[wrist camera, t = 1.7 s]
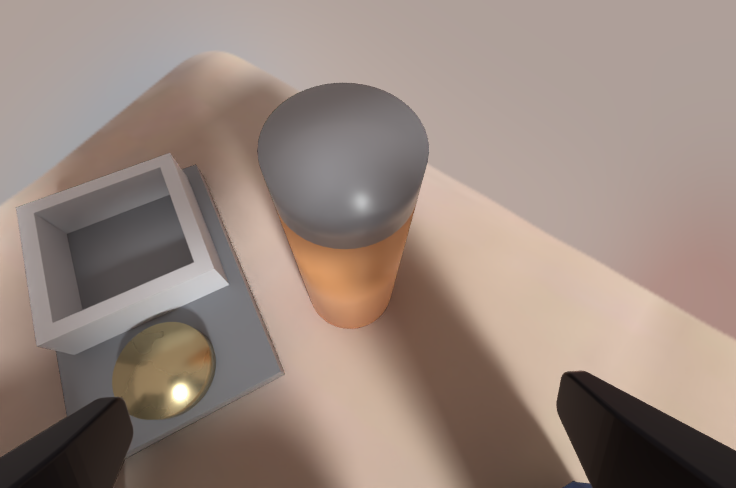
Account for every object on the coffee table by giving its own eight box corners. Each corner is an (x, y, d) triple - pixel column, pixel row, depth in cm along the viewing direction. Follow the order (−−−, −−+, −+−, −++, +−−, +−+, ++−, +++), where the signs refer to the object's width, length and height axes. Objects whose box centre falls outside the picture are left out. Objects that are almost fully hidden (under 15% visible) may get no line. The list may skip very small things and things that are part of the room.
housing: (284, 374, 20) (270, 365, 17) (94, 474, 18) (34, 487, 15) (202, 175, 26) (179, 138, 22) (49, 232, 24) (-2, 202, 20)
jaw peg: (397, 322, 22) (446, 206, 10) (312, 333, 21) (258, 226, 9) (384, 246, 24) (410, 77, 12) (306, 255, 23) (256, 89, 12)
